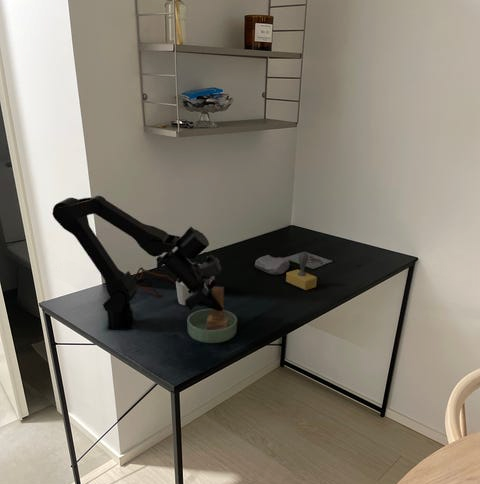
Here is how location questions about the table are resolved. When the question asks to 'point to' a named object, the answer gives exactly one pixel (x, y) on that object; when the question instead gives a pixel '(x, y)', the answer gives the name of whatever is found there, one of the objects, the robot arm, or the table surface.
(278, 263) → the stone block
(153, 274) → the glasses
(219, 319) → the brown stepped block
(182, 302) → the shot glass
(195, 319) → the bowl
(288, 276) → the rubber stamp
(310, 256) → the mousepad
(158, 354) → the table surface
